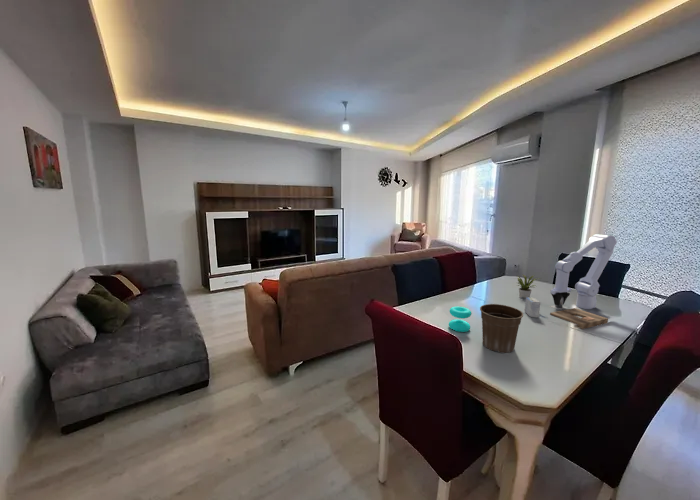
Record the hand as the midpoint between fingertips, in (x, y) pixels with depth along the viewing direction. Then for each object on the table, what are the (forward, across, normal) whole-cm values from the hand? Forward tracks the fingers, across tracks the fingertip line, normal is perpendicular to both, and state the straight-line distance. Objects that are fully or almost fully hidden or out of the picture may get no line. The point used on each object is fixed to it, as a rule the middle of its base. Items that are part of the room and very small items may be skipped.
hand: (559, 304), depth 166 cm
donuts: (+3, +72, 0) cm, 72 cm away
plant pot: (+3, +69, +20) cm, 72 cm away
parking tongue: (+3, 0, 0) cm, 3 cm away
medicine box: (+3, +22, 0) cm, 22 cm away
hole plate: (+3, +6, +14) cm, 16 cm away
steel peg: (+1, 0, 0) cm, 1 cm away
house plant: (+3, 0, -20) cm, 20 cm away
